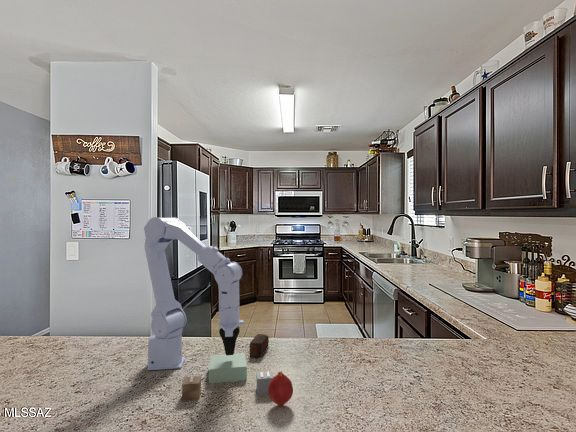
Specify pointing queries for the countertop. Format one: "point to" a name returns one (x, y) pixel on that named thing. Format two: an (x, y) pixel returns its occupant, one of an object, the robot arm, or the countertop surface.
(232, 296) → the robot arm
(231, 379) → the sage block
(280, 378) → the onion
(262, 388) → the slate numbered block
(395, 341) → the countertop surface
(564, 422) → the countertop surface
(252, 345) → the brick
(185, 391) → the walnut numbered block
